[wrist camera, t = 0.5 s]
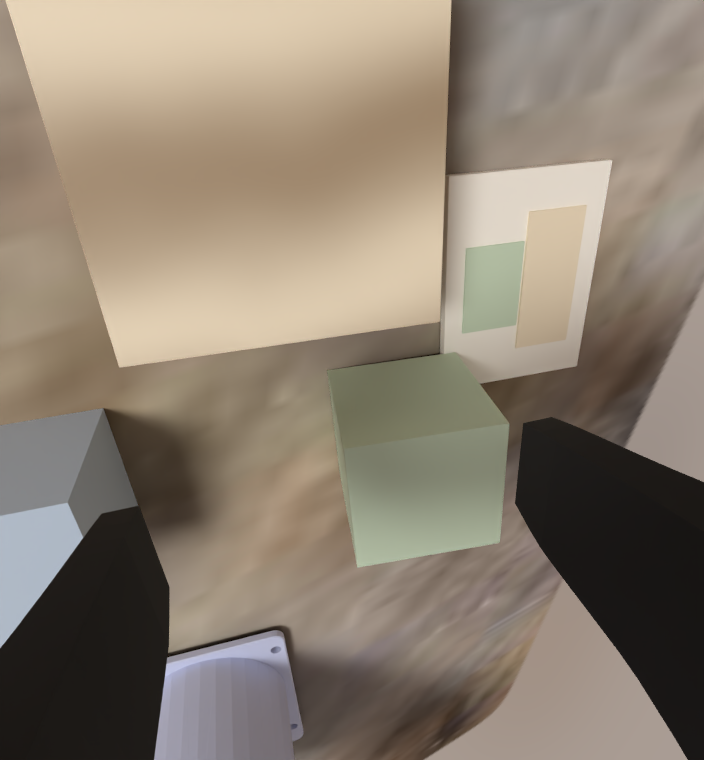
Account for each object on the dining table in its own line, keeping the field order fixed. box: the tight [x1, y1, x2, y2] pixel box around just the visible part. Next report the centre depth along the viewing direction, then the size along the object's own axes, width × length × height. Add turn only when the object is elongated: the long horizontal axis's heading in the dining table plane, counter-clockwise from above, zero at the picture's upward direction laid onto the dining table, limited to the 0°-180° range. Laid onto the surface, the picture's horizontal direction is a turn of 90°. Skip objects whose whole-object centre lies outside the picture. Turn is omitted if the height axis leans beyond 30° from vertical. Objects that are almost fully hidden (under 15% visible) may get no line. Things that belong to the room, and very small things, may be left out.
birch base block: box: [6, 0, 451, 368], centre depth 14 cm, size 9×9×4 cm
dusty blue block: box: [0, 408, 138, 648], centre depth 16 cm, size 5×5×5 cm
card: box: [440, 159, 612, 384], centre depth 19 cm, size 8×6×1 cm
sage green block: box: [327, 352, 509, 568], centre depth 18 cm, size 5×5×5 cm
